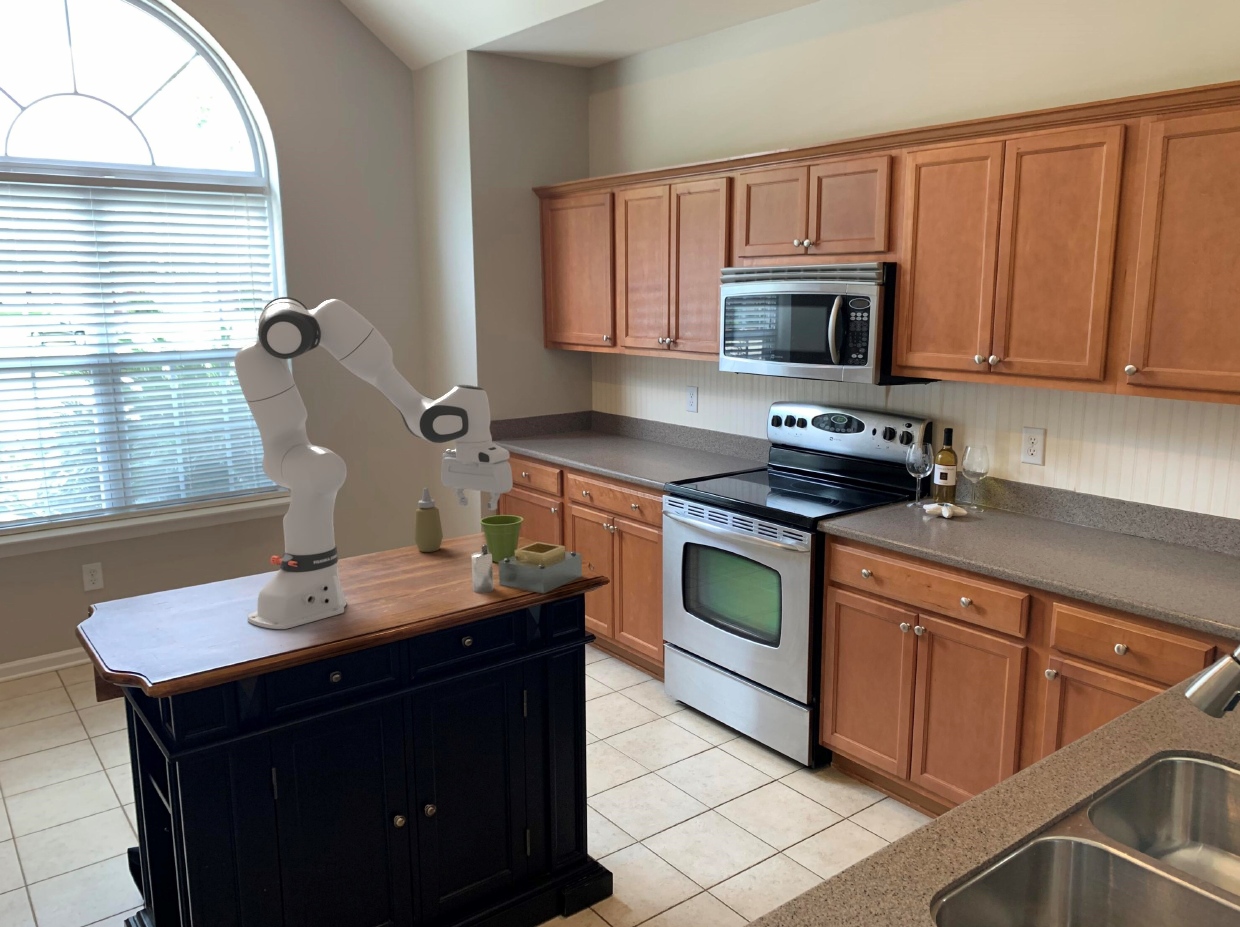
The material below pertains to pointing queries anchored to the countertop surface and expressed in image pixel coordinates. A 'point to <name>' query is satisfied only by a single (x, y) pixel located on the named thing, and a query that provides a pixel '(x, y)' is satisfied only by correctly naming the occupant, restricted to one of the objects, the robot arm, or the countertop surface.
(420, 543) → the squeeze bottle
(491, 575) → the spout can
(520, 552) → the grey square housing block
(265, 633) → the countertop surface
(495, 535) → the plant pot
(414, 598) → the countertop surface
